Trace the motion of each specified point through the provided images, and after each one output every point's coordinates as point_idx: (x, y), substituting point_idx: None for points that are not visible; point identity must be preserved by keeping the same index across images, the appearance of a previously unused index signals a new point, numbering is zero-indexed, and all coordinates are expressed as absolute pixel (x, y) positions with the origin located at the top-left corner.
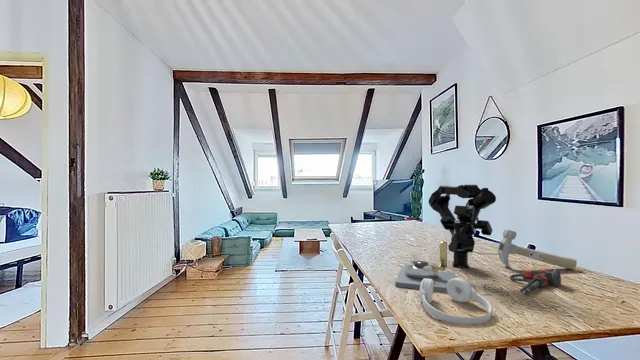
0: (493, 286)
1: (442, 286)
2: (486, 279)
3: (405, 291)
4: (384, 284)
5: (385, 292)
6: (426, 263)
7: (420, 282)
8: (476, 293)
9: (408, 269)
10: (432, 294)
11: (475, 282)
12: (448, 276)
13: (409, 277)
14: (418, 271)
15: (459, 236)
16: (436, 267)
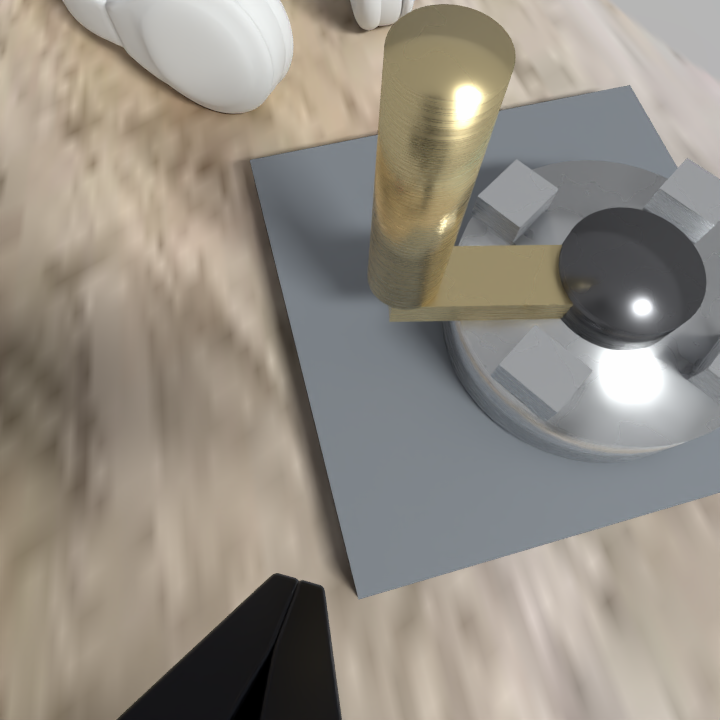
0: (10, 492)
1: (346, 158)
2: (56, 705)
3: (524, 67)
4: (686, 104)
5: (600, 7)
6: (570, 254)
7: (498, 155)
8: (107, 2)
9: (658, 183)
10: (356, 9)
11: (157, 519)
12: (373, 419)
13: None
14: (564, 167)
15: (235, 680)
16: (458, 252)
